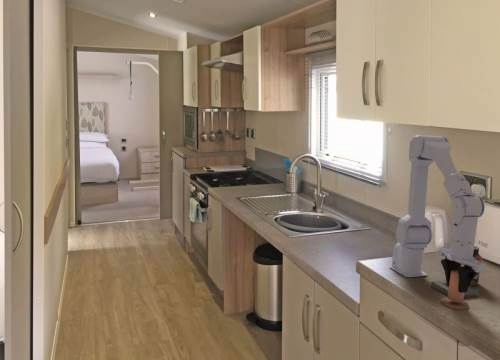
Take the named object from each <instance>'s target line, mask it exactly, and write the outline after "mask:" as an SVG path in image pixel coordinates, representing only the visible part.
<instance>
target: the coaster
mask: <svg viewBox="0 0 500 360" xmlns="http://www.w3.org/2000/svg"><path fill="white" fill-rule="evenodd" d="M440 303H441V304H442V306H444V307H447V308H449V309H453V310H460V311H461V310H463V311H464V310H467V309H469V303H468V302H467V301H465V300H463V302H454V301H451V300H449V299H448V296H446V297H442V298H441V299H440Z"/></svg>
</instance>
